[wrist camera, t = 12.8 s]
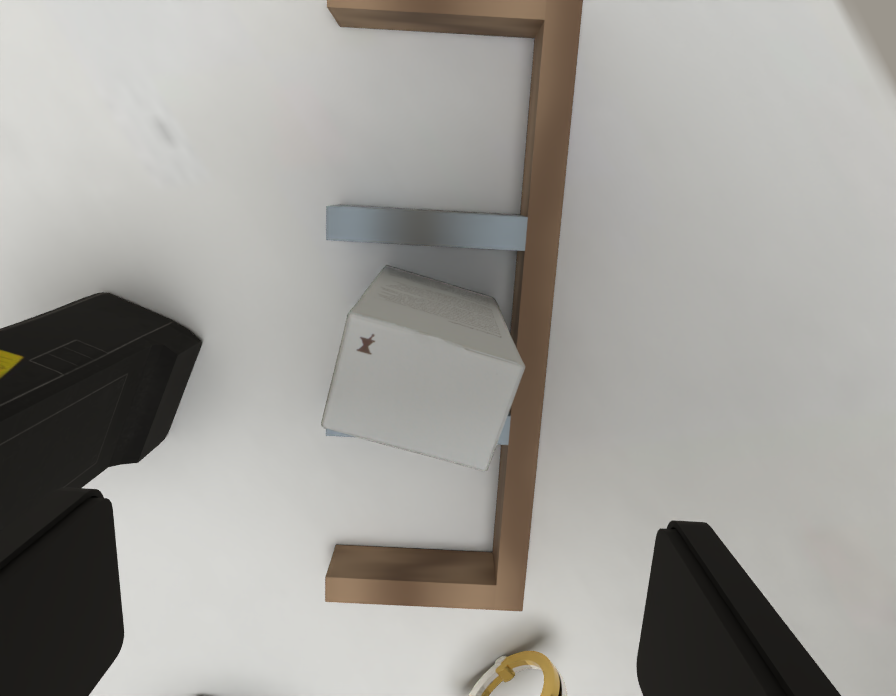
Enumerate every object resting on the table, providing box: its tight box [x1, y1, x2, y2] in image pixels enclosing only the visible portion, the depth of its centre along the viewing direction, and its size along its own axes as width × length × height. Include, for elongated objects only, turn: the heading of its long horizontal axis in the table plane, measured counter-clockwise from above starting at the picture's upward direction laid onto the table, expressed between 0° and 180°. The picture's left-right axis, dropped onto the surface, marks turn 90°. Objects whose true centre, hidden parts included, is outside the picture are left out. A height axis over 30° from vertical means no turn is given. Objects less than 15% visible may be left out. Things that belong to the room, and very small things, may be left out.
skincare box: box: [321, 266, 525, 471], centre depth 25 cm, size 6×4×12 cm
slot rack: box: [325, 0, 583, 611], centre depth 30 cm, size 10×30×3 cm, turn 177°
